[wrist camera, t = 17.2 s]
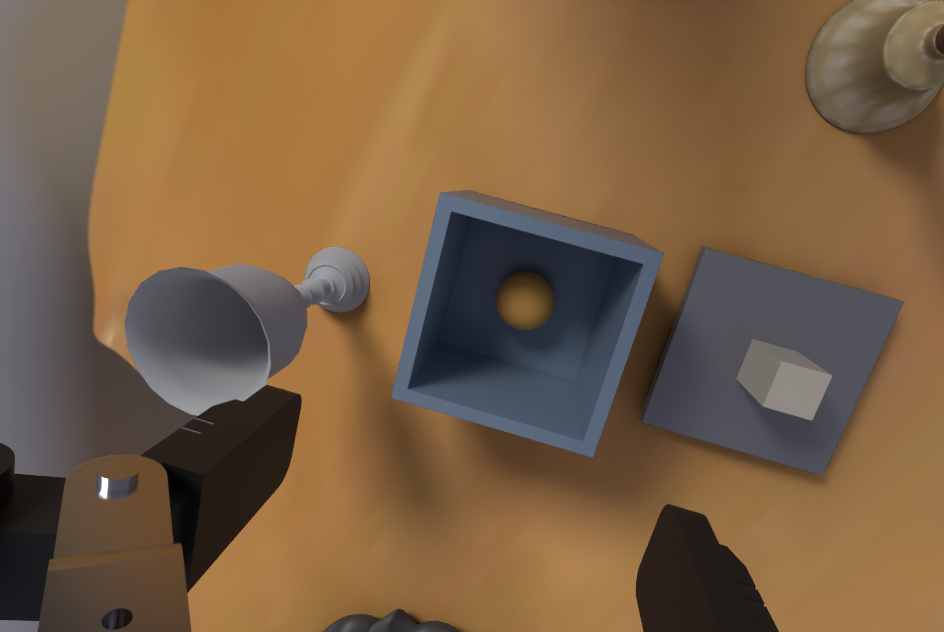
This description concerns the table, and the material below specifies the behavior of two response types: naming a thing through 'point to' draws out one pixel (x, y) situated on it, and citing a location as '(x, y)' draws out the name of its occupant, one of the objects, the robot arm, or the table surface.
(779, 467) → the table surface
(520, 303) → the ball
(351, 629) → the bundt pan
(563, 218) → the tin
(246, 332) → the chalice
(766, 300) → the lid
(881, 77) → the hand bell
